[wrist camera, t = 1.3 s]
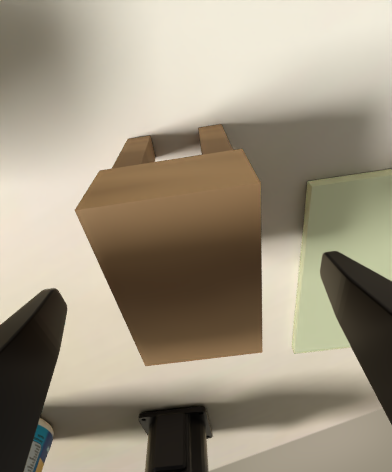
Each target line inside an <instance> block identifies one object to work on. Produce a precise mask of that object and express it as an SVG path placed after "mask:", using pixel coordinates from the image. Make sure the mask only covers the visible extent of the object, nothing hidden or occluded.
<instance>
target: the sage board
mask: <svg viewBox="0 0 392 472" xmlns="http://www.w3.org/2000/svg"><path fill="white" fill-rule="evenodd" d="M329 251H338V252H340V253H342V254H344V255H345V256H347V257H349V258H351V259H353V260H355V261H356V262H358V263H360V264H362V265H364V266H365V267H367V268H369V269H371V270H373V271H374V272H376V273H378V274H380V275H382V276H383V277H385V278H387V279H389V280H391V281H392V169H388V170H381V171H374V172H367V173H360V174H353V175H347V176H340V177H333V178H326V179H319V180H313V181H308V182H307V192H306V203H305V213H304V224H303V234H302V245H301V255H300V266H299V276H298V286H297V297H296V307H295V318H294V328H293V339H292V349H293V352H294V354H298V353H307V352H315V351H324V350H332V349H341V348H349V347H351V346H350V344H349V342H348V340H347V338H346V336H345V334H344V332H343V330H342V328H341V327H340V325H339V322H338V320H337V318H336V316H335V314H334V311H333V308H332V306H331V303H330V301H329V298H328V295H327V293H326V290H325V287H324V285H323V282H322V279H321V276H320V267H321V260H322V255H323V253H325V252H329Z"/></svg>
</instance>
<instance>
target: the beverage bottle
mask: <svg viewBox="0 0 392 472" xmlns="http://www.w3.org/2000/svg"><path fill="white" fill-rule="evenodd" d="M53 437H54V432H53V429H52V427H51V426H50V425H49V424H48V423H47V422H46V421H45V420H43V419H41V418H40V419H39V422H38V426H37V429H36V432H35V436H34V439H33V442H32V446H31V449H30V453H29V456H28V459H27V463H26V466H25V469H24V472H41V471H42V468H43V465H44V462H45V459H46V457H47V454H48V452H49V450H50V447H51V444H52V441H53Z"/></svg>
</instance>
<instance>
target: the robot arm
mask: <svg viewBox="0 0 392 472" xmlns="http://www.w3.org/2000/svg"><path fill="white" fill-rule="evenodd" d="M320 276H321V279H322V282H323V285H324V287H325V290H326V293H327V295H328V298H329V301H330V303H331V306H332V308H333V311H334V314H335V316H336V318H337V320H338V322H339V325H340V327H341V328H342V330H343V332H344V334H345V336H346V338H347V340H348V342H349V344H350V346H351V348H352V350H353V351H354V353H355V355H356V357H357V359H358V361H359V363H360V365H361V367H362V369H363V371H364V373H365V375H366V376H367V378H368V380H369V382H370V384H371V386H372V388H373V390H374V392H375V394H376V396H377V398H378V400H379V401H380V403H381V405H382V407H383V409H384V411H385V413H386V415H387V417H388V418H389V421H390V423H391V424H392V281H391V280H389V279H387V278H385V277H383V276H382V275H380V274H378V273H376V272H374V271H373V270H371V269H369V268H367V267H365V266H364V265H362V264H360V263H358V262H356V261H355V260H353V259H351V258H349V257H347V256H345V255H344V254H342V253H340V252H338V251H329V252H325V253H323V255H322V260H321V267H320ZM66 314H67V305H66V302H65V301H64V299H63V298H62V296H61V294H60V293H59V291H58V290H57V289H55V288H52V289H45V290H42V291H41V292H40V293H39V294H37V295H36V296H35V297H34V298H33V299H31V300H30V301H29V302H28V303H27V304H25V305H24V306H23V307H22V308H20V309H19V310H18V311H17V312H16V313H14V314H13V315H12V316H11V317H9V318H8V319H7V320H6V321H5V322H3V323H2V324H1V325H0V472H24V469H25V466H26V463H27V459H28V456H29V453H30V449H31V446H32V442H33V439H34V436H35V432H36V429H37V426H38V422H39V419H40V416H41V412H42V409H43V406H44V402H45V399H46V396H47V392H48V389H49V386H50V382H51V379H52V375H53V372H54V369H55V365H56V362H57V359H58V355H59V351H60V347H61V341H62V336H63V331H64V325H65V320H66ZM139 422H140V423H141V425H142V427H143V428H144V430H145V432H146V433H147V435H148V444H147V456H146V468H145V472H208V458H207V441H206V439H208V438H212V429H211V426H210V422H209V418H208V414H207V411H206V408H205V407H192V408H183V409H174V410H165V411H156V412H147V413H141V414H139Z"/></svg>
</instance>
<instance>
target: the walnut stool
mask: <svg viewBox="0 0 392 472" xmlns="http://www.w3.org/2000/svg"><path fill="white" fill-rule="evenodd" d="M198 130H199V137H200V145H201V152H202V155H198V156H191V157H185V158H178V159H172V160H165V161H159V162H155V153H154V149H153V145H152V140H151V136H143V137H137V138H131V139H128V140H127V141H126V143H125V145H124V147H123V149H122V151H121V152H120V154H119V156H118V158H117V160H116V162H115V163H114V165H113V167H112V169H107V170H100V171H99V172H98V174H97V176H96V177H95V179H94V180H93V182H92V184H91V185H90V187H89V188H88V190H87V192H86V193H85V195H84V196H83V198H82V200H81V201H80V203H79V204H78V206H77V207H76V209H75V212H76V214H77V216H78V218H79V221H80V223H81V225H82V227H83V229H84V232H85V234H86V236H87V238H88V240H89V243H90V245H91V247H92V249H93V251H94V254H95V256H96V258H97V260H98V263H99V265H100V267H101V269H102V271H103V274H104V276H105V278H106V280H107V282H108V285H109V287H110V289H111V291H112V293H113V296H114V298H115V300H116V302H117V304H118V307H119V309H120V311H121V313H122V315H123V318H124V320H125V322H126V324H127V326H128V329H129V331H130V333H131V335H132V337H133V340H134V342H135V344H136V346H137V348H138V351H139V353H140V355H141V357H142V359H143V362H144V364H145V366H151V365H159V364H168V363H176V362H185V361H193V360H202V359H210V358H219V357H227V356H236V355H244V354H252V353H261V352H262V270H261V182H260V181H259V179H258V177H257V175H256V173H255V171H254V170H253V168H252V166H251V164H250V162H249V160H248V159H247V157H246V155H245V153H244V151H243V149H236V150H233V148H232V146H231V144H230V142H229V140H228V138H227V135H226V133H225V131H224V129H223V127H222V125H221V124H219V125H213V126H206V127H200V128H198Z"/></svg>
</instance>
